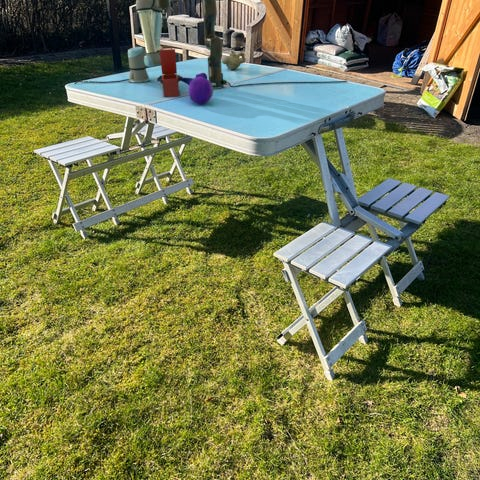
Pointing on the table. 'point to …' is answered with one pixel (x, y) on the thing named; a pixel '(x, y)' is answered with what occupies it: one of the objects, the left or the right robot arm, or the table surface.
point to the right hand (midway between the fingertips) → (165, 28)
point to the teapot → (233, 60)
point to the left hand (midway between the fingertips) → (170, 81)
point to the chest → (170, 85)
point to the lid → (168, 60)
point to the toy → (199, 88)
